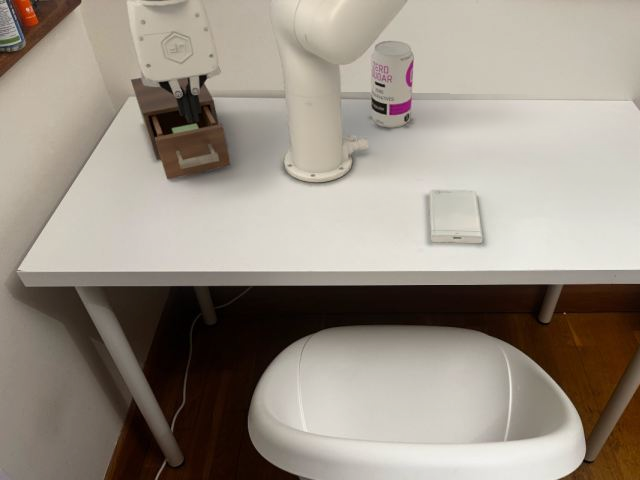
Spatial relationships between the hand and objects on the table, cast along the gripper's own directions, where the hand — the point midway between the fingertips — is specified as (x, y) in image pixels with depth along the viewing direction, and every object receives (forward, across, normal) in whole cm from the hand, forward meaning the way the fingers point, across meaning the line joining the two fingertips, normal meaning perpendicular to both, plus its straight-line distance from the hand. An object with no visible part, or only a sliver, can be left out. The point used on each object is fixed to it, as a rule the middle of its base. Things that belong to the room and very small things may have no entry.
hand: (191, 117), depth 84 cm
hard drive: (+17, +36, -19) cm, 44 cm away
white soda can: (+17, +41, +16) cm, 47 cm away
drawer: (+16, 0, +15) cm, 22 cm away
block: (+15, 0, +16) cm, 22 cm away
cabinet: (+17, 0, +27) cm, 32 cm away
